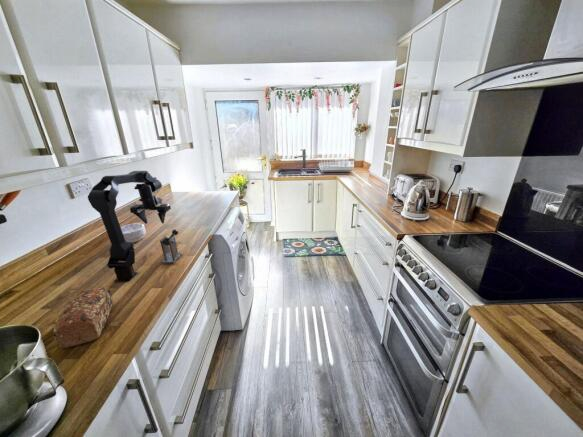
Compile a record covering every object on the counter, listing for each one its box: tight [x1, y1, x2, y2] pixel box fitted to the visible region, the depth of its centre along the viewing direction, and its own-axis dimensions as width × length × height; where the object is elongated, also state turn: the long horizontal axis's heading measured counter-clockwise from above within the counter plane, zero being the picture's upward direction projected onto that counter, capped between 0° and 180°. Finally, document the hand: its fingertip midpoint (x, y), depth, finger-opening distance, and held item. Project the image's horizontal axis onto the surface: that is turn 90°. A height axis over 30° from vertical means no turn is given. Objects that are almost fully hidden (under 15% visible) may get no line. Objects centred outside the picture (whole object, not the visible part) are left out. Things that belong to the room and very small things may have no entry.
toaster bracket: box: [159, 236, 183, 265], centre depth 118 cm, size 9×6×12 cm, turn 179°
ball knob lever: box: [164, 228, 179, 245], centre depth 120 cm, size 11×3×3 cm, turn 179°
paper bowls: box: [120, 222, 147, 244], centre depth 141 cm, size 15×15×8 cm
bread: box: [52, 286, 114, 349], centre depth 80 cm, size 19×11×10 cm, turn 22°
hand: (154, 223), depth 127 cm, fingers open, 9 cm apart
